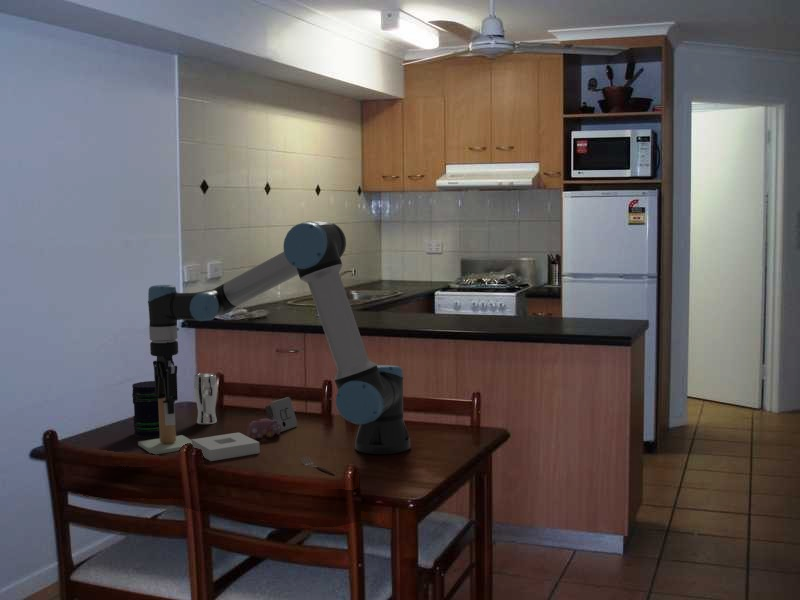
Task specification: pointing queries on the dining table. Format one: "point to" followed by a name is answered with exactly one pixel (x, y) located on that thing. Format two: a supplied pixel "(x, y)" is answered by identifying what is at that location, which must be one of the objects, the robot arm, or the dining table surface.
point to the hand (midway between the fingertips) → (167, 423)
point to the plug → (165, 431)
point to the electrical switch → (282, 413)
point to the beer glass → (206, 397)
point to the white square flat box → (226, 446)
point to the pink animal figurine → (264, 428)
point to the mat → (164, 445)
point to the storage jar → (145, 410)
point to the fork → (316, 466)
